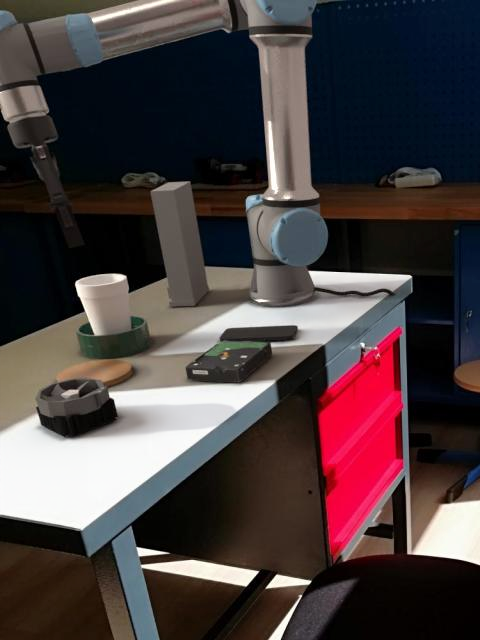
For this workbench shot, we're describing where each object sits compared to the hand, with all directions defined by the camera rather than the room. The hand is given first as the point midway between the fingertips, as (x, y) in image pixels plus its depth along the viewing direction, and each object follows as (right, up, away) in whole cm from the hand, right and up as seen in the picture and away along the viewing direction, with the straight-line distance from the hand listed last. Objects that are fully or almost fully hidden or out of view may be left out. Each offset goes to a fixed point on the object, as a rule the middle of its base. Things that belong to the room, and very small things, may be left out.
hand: (76, 246), depth 139 cm
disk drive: (+29, -23, -1) cm, 37 cm away
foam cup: (+3, -16, +12) cm, 20 cm away
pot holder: (+4, -25, -2) cm, 25 cm away
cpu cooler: (+9, -35, -20) cm, 41 cm away
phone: (+31, -14, +14) cm, 37 cm away
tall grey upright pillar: (+10, +2, +42) cm, 43 cm away
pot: (+3, -16, +12) cm, 20 cm away
